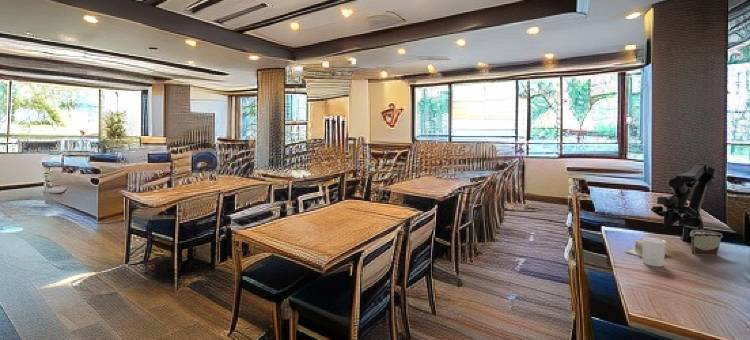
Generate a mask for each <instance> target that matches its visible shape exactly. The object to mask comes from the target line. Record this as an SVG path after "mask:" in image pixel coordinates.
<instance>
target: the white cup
mask: <svg viewBox="0 0 750 340" xmlns="http://www.w3.org/2000/svg"><path fill="white" fill-rule="evenodd" d="M642 239H643V257H642V263H643V264H644V265H647V266H651V267H652V266H653V267H663V266H664V260H665V255H666V254H665V253H666V250H667V244H668V242H667V240H664V239H662V238H657V237H643V238H642Z"/></svg>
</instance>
